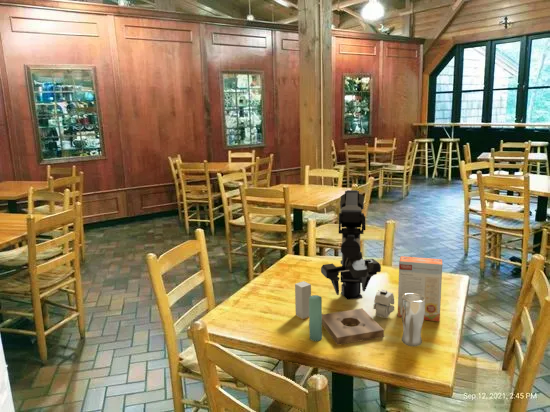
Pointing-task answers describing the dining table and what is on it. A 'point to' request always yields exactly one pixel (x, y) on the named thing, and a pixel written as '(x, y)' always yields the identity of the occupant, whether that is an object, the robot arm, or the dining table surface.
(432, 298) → the cracker box
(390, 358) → the dining table surface
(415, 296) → the beer glass
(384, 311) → the white blocky figure
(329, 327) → the socket board
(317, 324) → the round dowel
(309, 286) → the square dowel
